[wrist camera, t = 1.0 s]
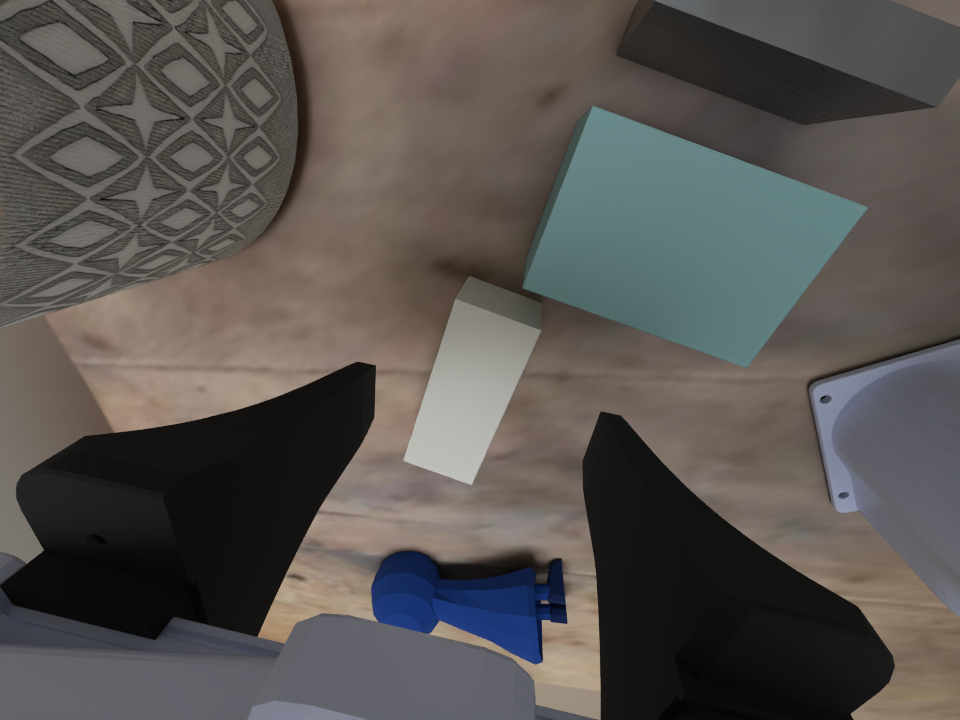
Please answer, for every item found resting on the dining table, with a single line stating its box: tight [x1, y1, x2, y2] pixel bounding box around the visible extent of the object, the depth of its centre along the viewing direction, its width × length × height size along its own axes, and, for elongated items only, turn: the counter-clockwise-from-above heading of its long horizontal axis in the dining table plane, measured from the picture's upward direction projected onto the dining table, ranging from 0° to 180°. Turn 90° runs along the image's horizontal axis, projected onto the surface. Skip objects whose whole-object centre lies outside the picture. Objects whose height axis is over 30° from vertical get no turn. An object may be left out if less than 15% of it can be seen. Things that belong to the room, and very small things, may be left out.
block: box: [522, 106, 868, 368], centre depth 16 cm, size 6×9×5 cm, turn 72°
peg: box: [404, 276, 541, 485], centre depth 21 cm, size 10×4×4 cm, turn 161°
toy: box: [371, 551, 568, 665], centre depth 29 cm, size 7×6×15 cm
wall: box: [616, 0, 960, 125], centre depth 13 cm, size 2×8×6 cm, turn 72°
